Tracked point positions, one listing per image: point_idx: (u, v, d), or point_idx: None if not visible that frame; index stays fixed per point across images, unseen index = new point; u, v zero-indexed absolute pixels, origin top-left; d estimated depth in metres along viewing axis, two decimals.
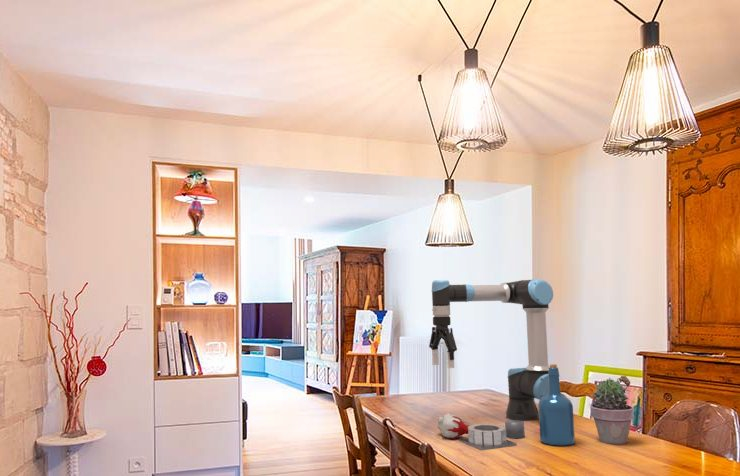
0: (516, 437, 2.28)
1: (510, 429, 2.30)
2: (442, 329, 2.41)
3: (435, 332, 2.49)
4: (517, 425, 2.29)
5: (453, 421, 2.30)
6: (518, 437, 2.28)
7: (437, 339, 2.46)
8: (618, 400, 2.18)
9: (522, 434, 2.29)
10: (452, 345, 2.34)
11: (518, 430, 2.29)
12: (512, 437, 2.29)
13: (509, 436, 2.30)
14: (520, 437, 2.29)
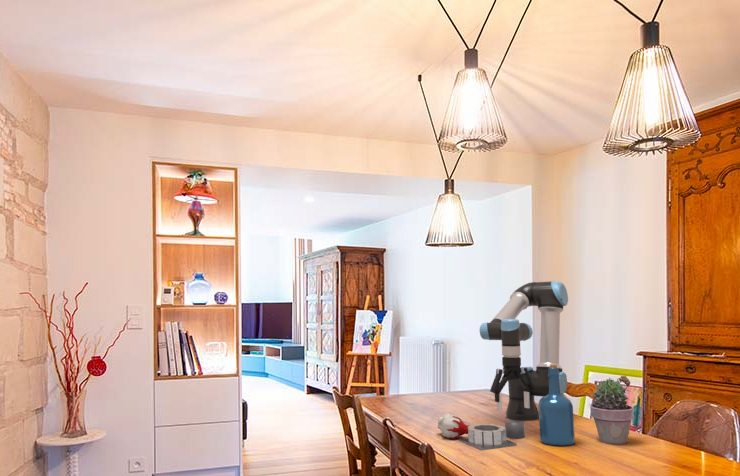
0: (516, 437, 2.28)
1: (510, 429, 2.30)
2: None
3: (524, 373, 2.37)
4: (517, 425, 2.29)
5: (453, 421, 2.30)
6: (518, 437, 2.28)
7: (519, 380, 2.36)
8: (618, 400, 2.18)
9: (522, 434, 2.29)
10: (492, 386, 2.31)
11: (518, 430, 2.29)
12: (512, 437, 2.29)
13: (509, 436, 2.30)
14: (520, 437, 2.29)
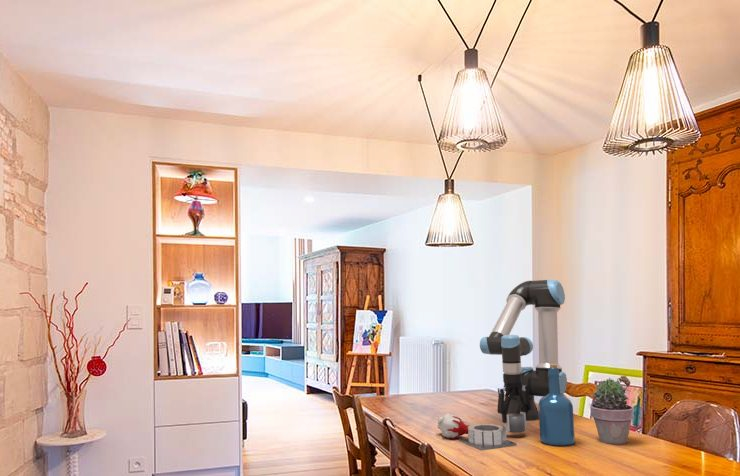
0: (516, 431, 2.29)
1: (510, 423, 2.30)
2: None
3: (524, 391, 2.36)
4: (517, 419, 2.30)
5: (453, 421, 2.30)
6: (518, 431, 2.29)
7: (517, 398, 2.35)
8: (618, 400, 2.18)
9: (522, 428, 2.30)
10: (498, 408, 2.31)
11: (518, 423, 2.29)
12: (512, 431, 2.30)
13: None
14: (520, 431, 2.29)
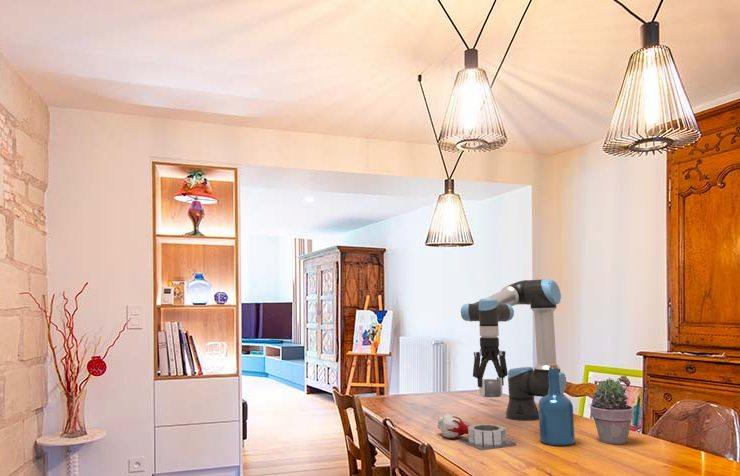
0: (492, 395, 2.22)
1: (485, 388, 2.24)
2: None
3: (501, 356, 2.30)
4: (493, 383, 2.23)
5: (453, 421, 2.30)
6: (494, 395, 2.22)
7: (494, 363, 2.29)
8: (618, 400, 2.18)
9: (498, 392, 2.23)
10: (474, 371, 2.25)
11: (494, 388, 2.23)
12: (488, 395, 2.23)
13: (485, 394, 2.24)
14: (496, 395, 2.23)
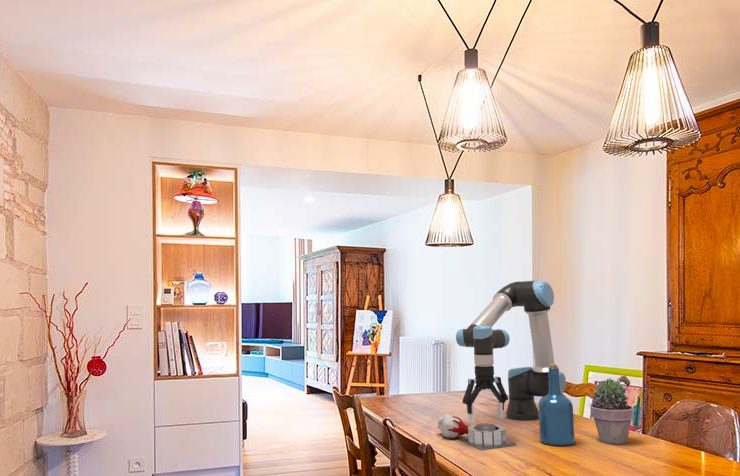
0: None
1: None
2: None
3: (497, 383, 2.27)
4: (488, 429, 2.19)
5: (453, 421, 2.30)
6: None
7: (492, 390, 2.26)
8: (618, 400, 2.18)
9: None
10: (464, 397, 2.21)
11: None
12: None
13: None
14: None
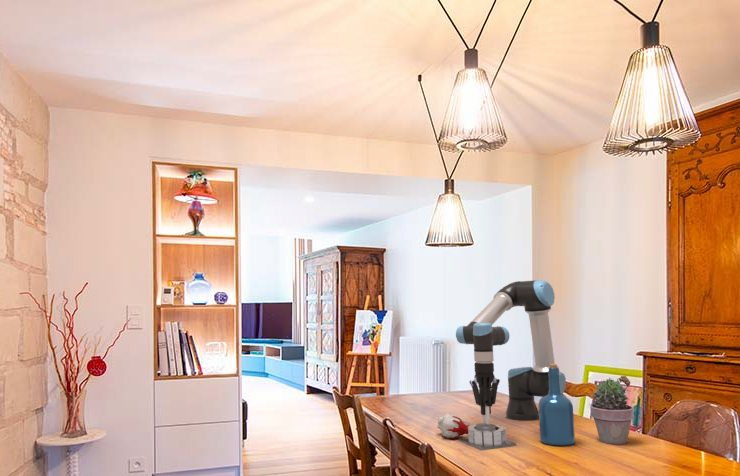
0: None
1: None
2: None
3: (494, 383, 2.26)
4: (487, 429, 2.19)
5: (453, 421, 2.30)
6: None
7: (485, 389, 2.25)
8: (618, 400, 2.18)
9: None
10: (476, 400, 2.23)
11: None
12: None
13: None
14: None
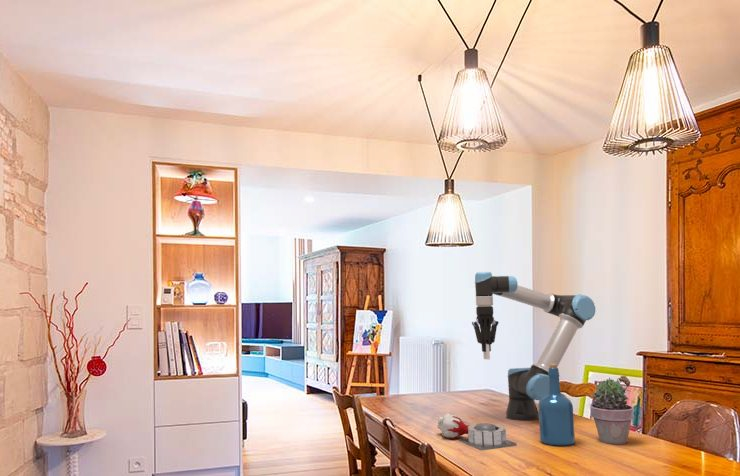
0: None
1: None
2: None
3: (493, 325, 2.57)
4: (487, 429, 2.19)
5: (453, 421, 2.30)
6: None
7: (486, 330, 2.56)
8: (618, 400, 2.18)
9: None
10: (477, 338, 2.54)
11: None
12: None
13: None
14: None
